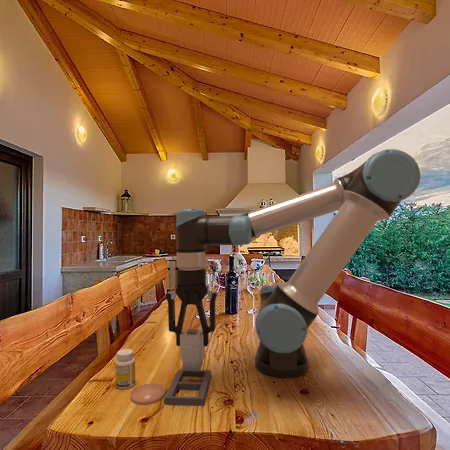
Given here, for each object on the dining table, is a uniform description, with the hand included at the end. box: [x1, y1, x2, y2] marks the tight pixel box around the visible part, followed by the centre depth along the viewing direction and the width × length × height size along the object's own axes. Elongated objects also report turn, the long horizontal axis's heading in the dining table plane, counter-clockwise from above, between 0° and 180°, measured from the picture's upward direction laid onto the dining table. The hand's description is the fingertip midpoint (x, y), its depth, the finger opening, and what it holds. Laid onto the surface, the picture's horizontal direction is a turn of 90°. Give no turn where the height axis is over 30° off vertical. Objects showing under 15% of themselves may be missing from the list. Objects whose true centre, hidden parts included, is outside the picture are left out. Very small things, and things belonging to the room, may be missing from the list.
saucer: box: [130, 383, 166, 405], centre depth 76 cm, size 8×8×1 cm
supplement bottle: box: [115, 348, 136, 390], centre depth 81 cm, size 5×5×8 cm
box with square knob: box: [181, 328, 204, 371], centre depth 82 cm, size 4×4×9 cm
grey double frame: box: [163, 369, 212, 407], centre depth 79 cm, size 9×14×2 cm, turn 176°
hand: (192, 358), depth 82 cm, fingers closed on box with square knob, 4 cm apart
